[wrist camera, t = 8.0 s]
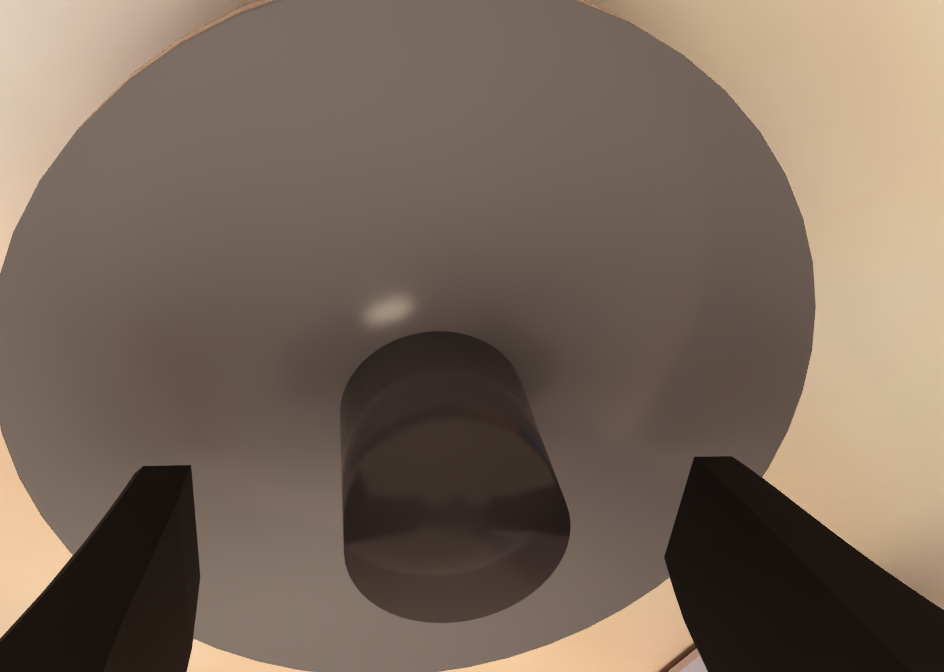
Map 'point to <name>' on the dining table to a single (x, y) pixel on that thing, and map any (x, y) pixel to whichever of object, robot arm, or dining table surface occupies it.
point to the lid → (406, 319)
